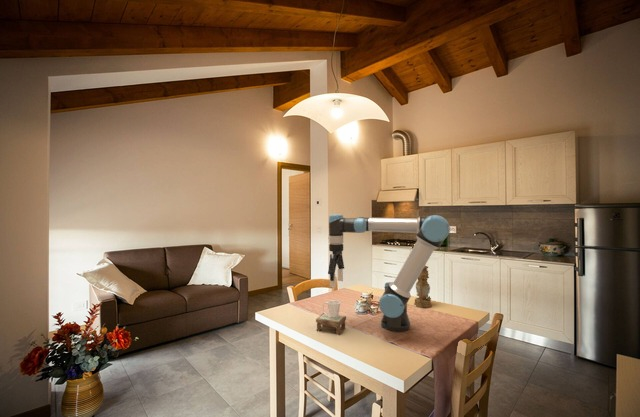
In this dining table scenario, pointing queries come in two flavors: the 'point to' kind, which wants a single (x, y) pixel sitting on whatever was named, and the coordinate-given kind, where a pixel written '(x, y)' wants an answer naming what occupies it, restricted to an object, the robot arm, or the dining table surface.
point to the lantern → (423, 289)
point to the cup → (332, 308)
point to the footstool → (331, 324)
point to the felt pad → (325, 317)
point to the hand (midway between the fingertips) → (336, 283)
